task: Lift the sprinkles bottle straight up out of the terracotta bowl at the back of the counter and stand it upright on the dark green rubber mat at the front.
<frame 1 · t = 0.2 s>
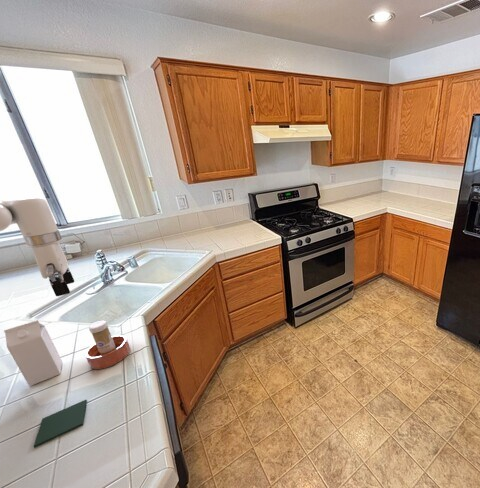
hand: (66, 288, 85), 26 cm above the countertop, tool pointing down, fingers open, 9 cm apart
milk carton: (47, 374, 85), on the countertop
mat: (62, 422, 69), on the countertop
sprinkles bottle: (111, 356, 91), resting on bowl
bowl: (111, 357, 91), on the countertop
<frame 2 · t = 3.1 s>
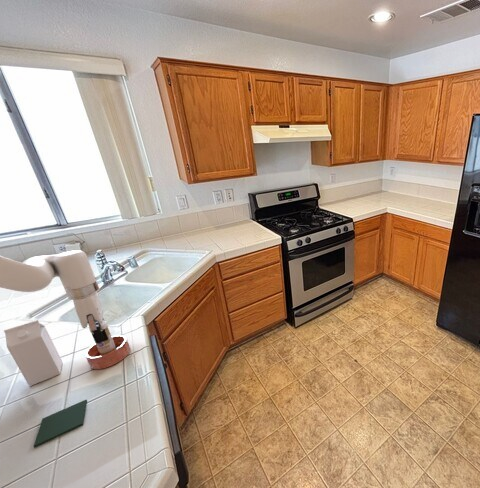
hand: (102, 336, 88), 9 cm above the countertop, tool pointing down, fingers closed on sprinkles bottle, 4 cm apart
sprinkles bottle: (111, 356, 91), resting on bowl, touching gripper
everything else where it was.
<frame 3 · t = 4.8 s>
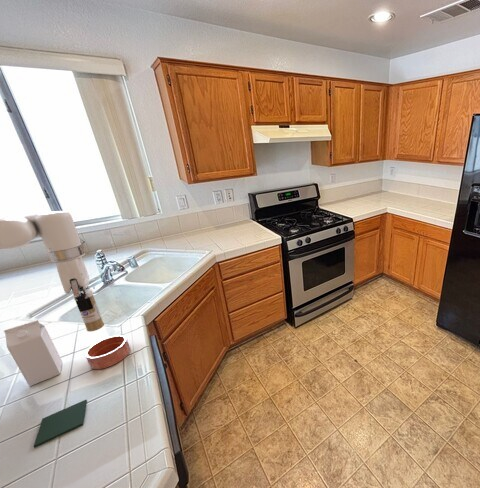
hand: (87, 305, 83), 21 cm above the countertop, tool pointing down, fingers closed on sprinkles bottle, 4 cm apart
sprinkles bottle: (96, 328, 86), point 13 cm above the countertop, touching gripper
everything else where it was.
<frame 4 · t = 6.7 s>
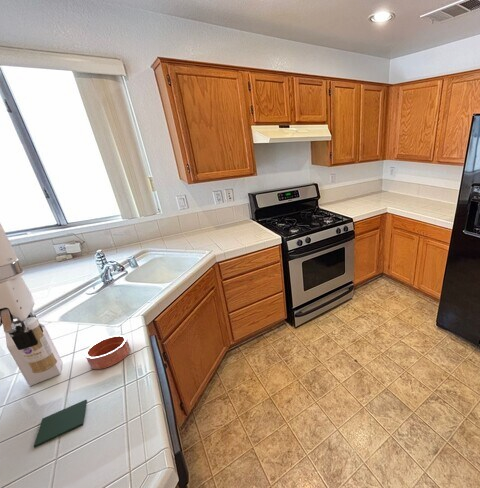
hand: (31, 340, 63), 24 cm above the countertop, tool pointing down, fingers closed on sprinkles bottle, 4 cm apart
sprinkles bottle: (46, 367, 66), point 16 cm above the countertop, touching gripper
everything else where it was.
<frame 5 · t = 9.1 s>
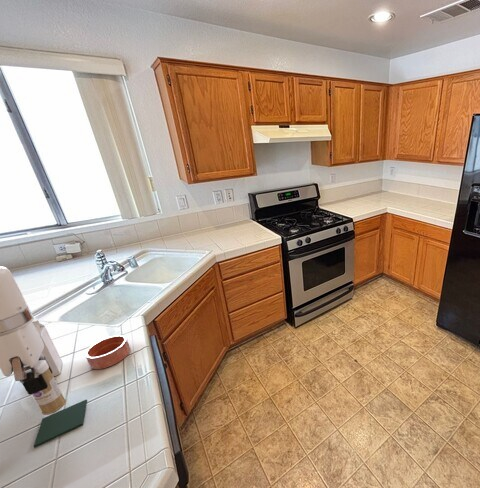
hand: (41, 382, 64), 14 cm above the countertop, tool pointing down, fingers closed on sprinkles bottle, 4 cm apart
sprinkles bottle: (55, 408, 67), point 5 cm above the countertop, touching gripper
everything else where it was.
when the fingers open (9 cm above the countertop, at t = 10.6 s): sprinkles bottle stays where it is, resting on mat.
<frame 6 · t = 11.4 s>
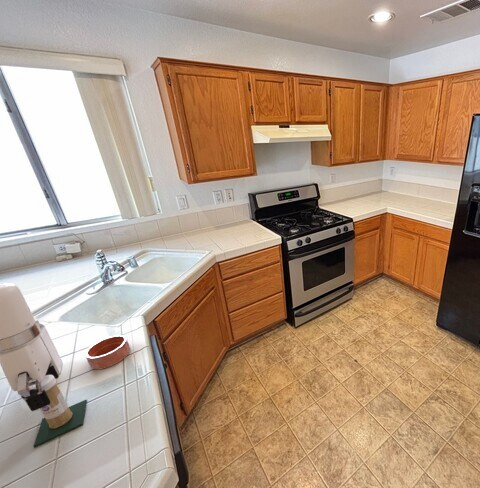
hand: (46, 392, 65), 10 cm above the countertop, tool pointing down, fingers open, 9 cm apart
sprinkles bottle: (62, 421, 69), resting on mat
everything else where it was.
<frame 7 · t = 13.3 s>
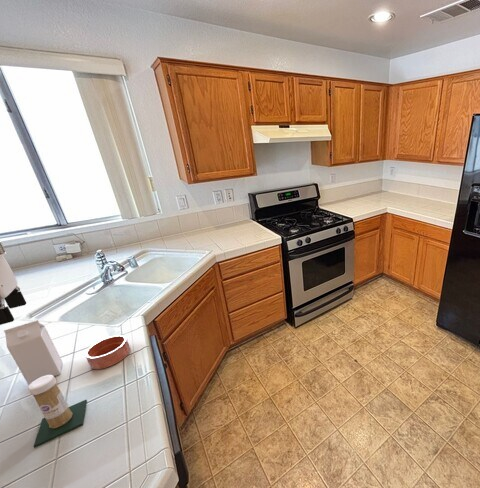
hand: (12, 314, 68), 28 cm above the countertop, tool pointing down, fingers open, 9 cm apart
nothing on the countertop moved.
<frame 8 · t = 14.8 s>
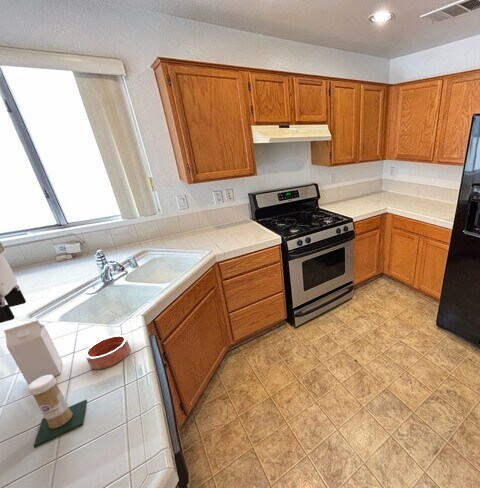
hand: (12, 312, 68), 28 cm above the countertop, tool pointing down, fingers open, 9 cm apart
nothing on the countertop moved.
at the end: sprinkles bottle inside the target area on the mat (0.0 cm from its centre), point 0.4 cm above the mat's base; sprinkles bottle tilted 0°; sprinkles bottle touching mat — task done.
